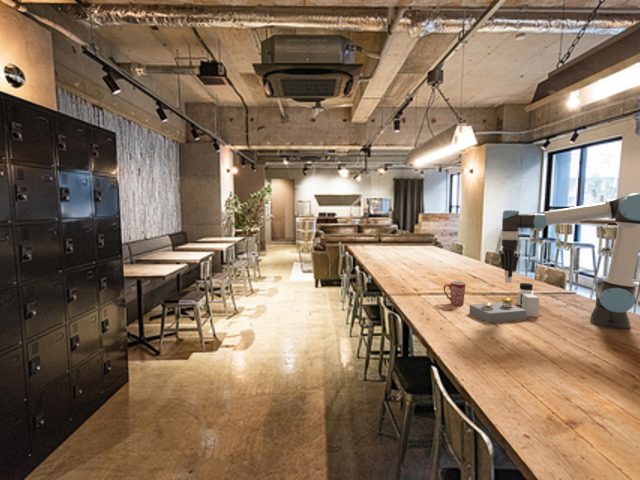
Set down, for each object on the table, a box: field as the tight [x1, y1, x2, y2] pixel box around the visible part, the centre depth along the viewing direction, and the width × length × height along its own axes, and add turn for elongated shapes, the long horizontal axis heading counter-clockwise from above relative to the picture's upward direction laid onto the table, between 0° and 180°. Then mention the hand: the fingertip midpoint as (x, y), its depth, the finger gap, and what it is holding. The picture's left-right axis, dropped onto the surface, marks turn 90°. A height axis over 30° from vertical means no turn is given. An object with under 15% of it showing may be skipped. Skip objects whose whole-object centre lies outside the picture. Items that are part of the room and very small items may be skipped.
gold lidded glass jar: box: [501, 297, 514, 308], centre depth 182 cm, size 5×5×7 cm
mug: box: [443, 280, 467, 307], centre depth 206 cm, size 13×9×14 cm
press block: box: [468, 301, 527, 324], centre depth 181 cm, size 16×22×5 cm
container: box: [516, 282, 535, 306], centre depth 203 cm, size 8×8×13 cm
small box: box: [521, 294, 540, 317], centre depth 184 cm, size 8×6×10 cm
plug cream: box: [481, 301, 493, 310], centre depth 180 cm, size 5×5×7 cm
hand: (508, 282), depth 181 cm, fingers closed
